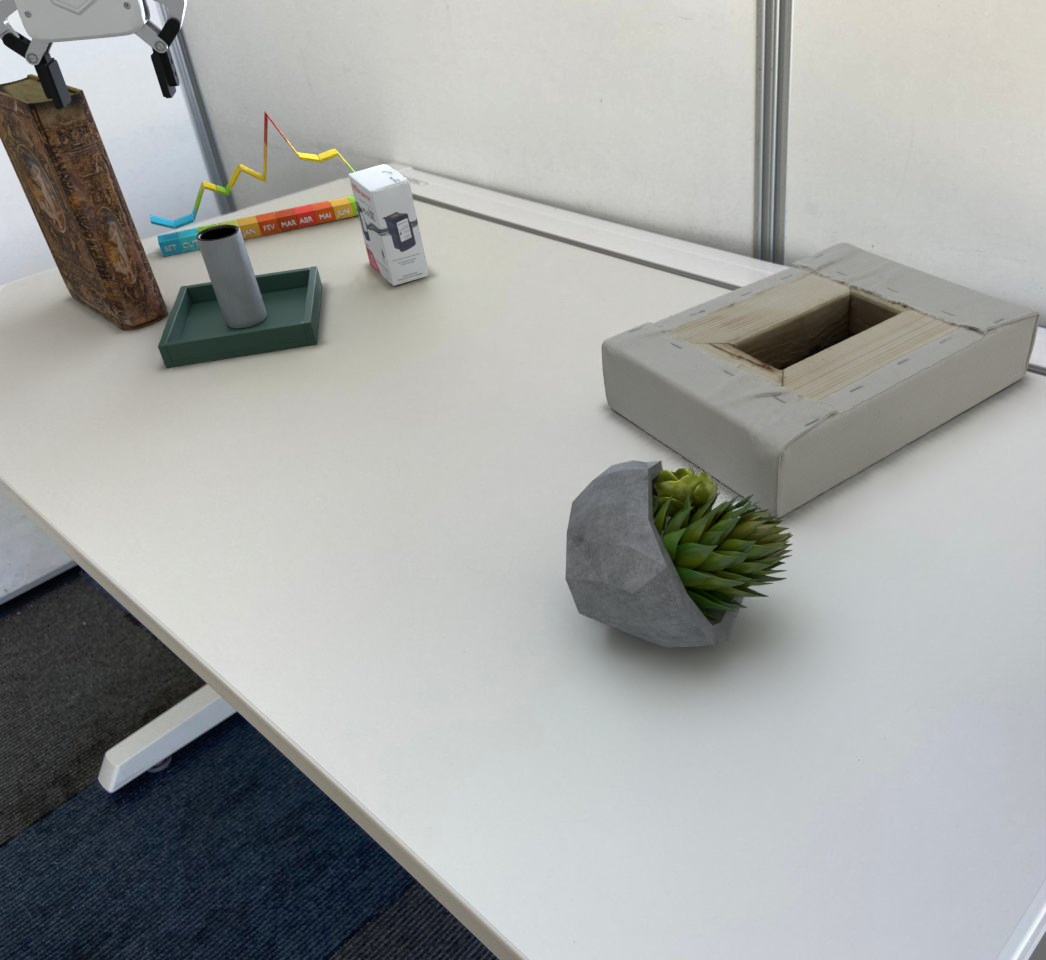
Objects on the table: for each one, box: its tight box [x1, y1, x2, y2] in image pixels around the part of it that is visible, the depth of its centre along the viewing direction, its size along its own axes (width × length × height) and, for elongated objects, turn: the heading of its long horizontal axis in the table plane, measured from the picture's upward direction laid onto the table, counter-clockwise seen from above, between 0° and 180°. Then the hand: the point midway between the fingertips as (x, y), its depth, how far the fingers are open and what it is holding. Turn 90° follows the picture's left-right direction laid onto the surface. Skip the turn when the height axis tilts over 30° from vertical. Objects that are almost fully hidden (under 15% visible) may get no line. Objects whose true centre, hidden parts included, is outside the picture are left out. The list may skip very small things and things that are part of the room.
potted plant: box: [565, 460, 794, 649], centre depth 64 cm, size 12×13×15 cm
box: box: [601, 242, 1041, 519], centre depth 88 cm, size 23×8×32 cm
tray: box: [157, 265, 323, 369], centre depth 109 cm, size 16×16×3 cm
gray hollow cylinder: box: [196, 225, 267, 328], centre depth 107 cm, size 4×4×10 cm
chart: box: [149, 110, 358, 257], centre depth 130 cm, size 30×3×15 cm, turn 115°
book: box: [0, 73, 169, 331], centre depth 109 cm, size 16×6×25 cm, turn 47°
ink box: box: [347, 163, 430, 287], centre depth 116 cm, size 8×5×12 cm, turn 32°
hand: (117, 100), depth 94 cm, fingers open, 9 cm apart
